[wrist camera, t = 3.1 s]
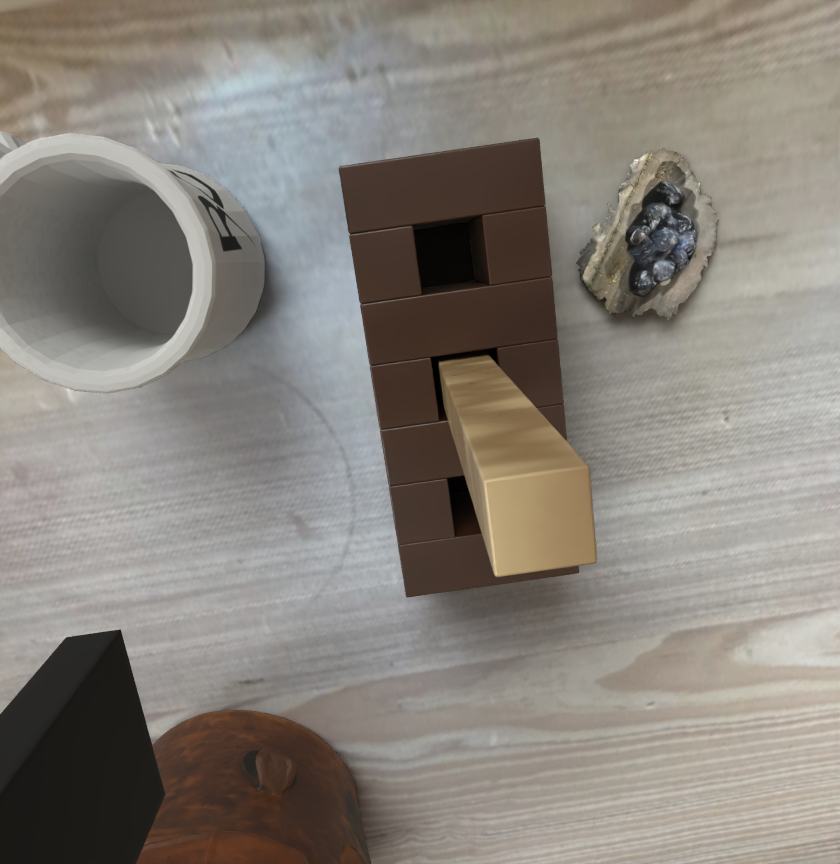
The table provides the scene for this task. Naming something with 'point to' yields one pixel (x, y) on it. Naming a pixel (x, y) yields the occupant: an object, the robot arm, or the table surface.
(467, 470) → the stick
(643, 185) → the mineral rock specimen
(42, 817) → the robot arm
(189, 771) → the case
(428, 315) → the holder
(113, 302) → the mug
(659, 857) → the table surface
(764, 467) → the table surface
